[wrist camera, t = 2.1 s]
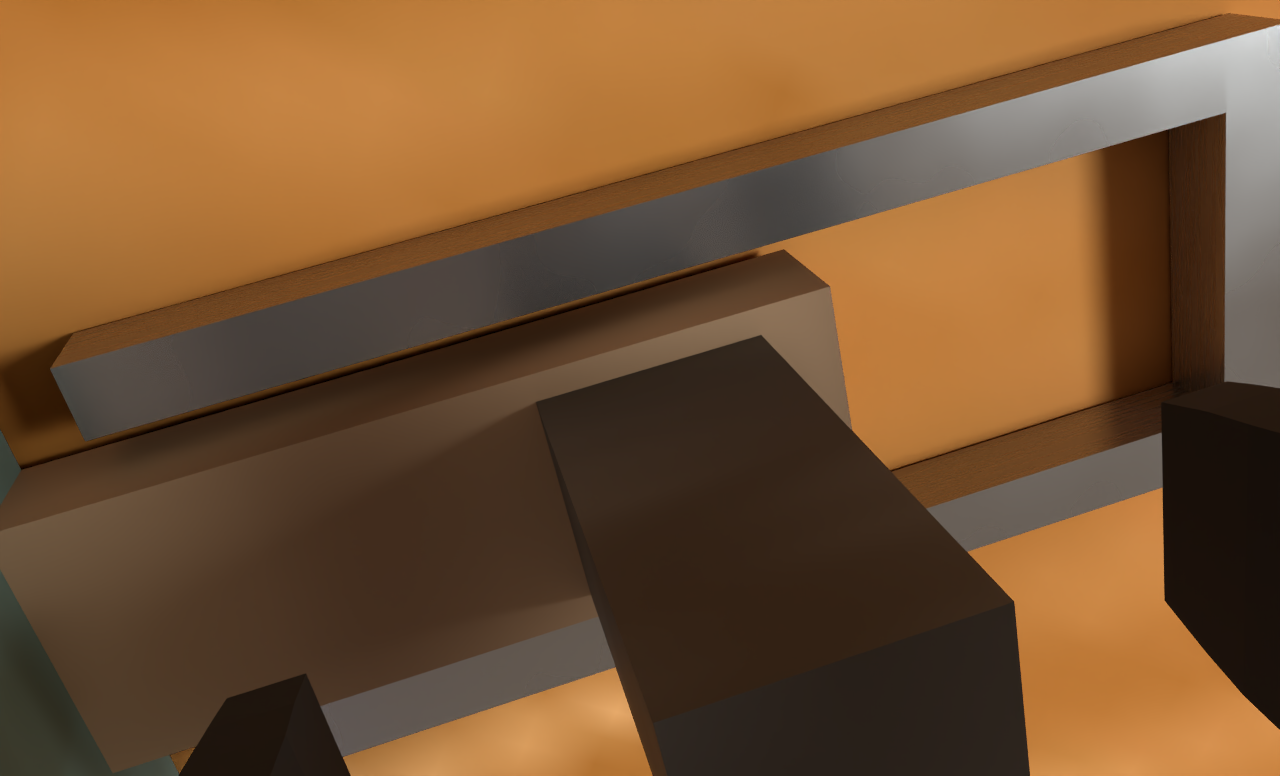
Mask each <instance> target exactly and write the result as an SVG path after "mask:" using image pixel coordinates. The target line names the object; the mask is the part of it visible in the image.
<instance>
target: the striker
mask: <svg viewBox="0 0 1280 776" xmlns="http://www.w3.org/2000/svg"><path fill="white" fill-rule="evenodd" d="M595 617H599V620H600V623H601V625H602V628H603V631H604V634H605V637H606V640H607V643H608V646H609V649H610V652H611V655H612V658H613V661H614V663H615V666H616V669H617V672H618V675H619V678H620V681H621V684H622V687H623V690H624V693H625V696H626V698H627V701H628V704H629V707H630V710H631V713H632V716H633V719H634V722H635V725H636V728H637V731H638V734H639V736H640V739H641V742H642V745H643V748H644V751H645V754H646V757H647V760H648V763H649V766H650V769H651V772H652V774H653V776H1030V771H1029V760H1028V749H1027V738H1026V727H1025V716H1024V705H1023V694H1022V683H1021V672H1020V661H1019V650H1018V639H1017V628H1016V617H1015V606H1014V601H1013V600H1012V599H1011V598H1010V597H1009V596H1008V595H1007V594H1006V593H1005V592H1004V591H1003V589H1002V588H1001V587H1000V586H999V585H998V584H997V583H996V582H995V581H994V580H993V579H992V578H991V577H990V576H989V575H988V574H987V573H986V572H985V570H984V569H983V568H982V567H981V566H980V565H979V564H978V563H977V562H976V561H975V560H974V559H973V558H972V557H971V556H970V555H969V554H968V553H967V551H966V550H965V549H964V548H963V547H962V546H961V545H960V544H959V543H958V542H957V541H956V540H955V539H954V538H953V537H952V536H951V535H950V534H949V532H948V531H947V530H946V529H945V528H944V527H943V526H942V525H941V524H940V523H939V522H938V521H937V520H936V519H935V518H934V517H933V516H932V515H931V513H930V512H929V511H928V510H927V509H926V508H925V507H924V506H923V505H922V504H921V503H920V502H919V501H918V500H917V499H916V498H915V497H914V496H913V494H912V493H911V492H910V491H909V490H908V489H907V488H906V487H905V486H904V485H903V484H902V483H901V482H900V481H899V480H898V479H897V478H896V477H895V475H894V474H893V473H892V472H891V471H890V470H889V469H888V468H887V467H886V466H885V465H884V464H883V463H882V462H881V461H880V460H879V459H878V458H877V456H876V455H875V454H874V453H873V452H872V451H871V450H870V449H869V448H868V447H867V446H866V445H865V444H864V443H863V442H862V441H861V440H860V439H859V437H858V436H857V435H856V434H855V433H854V432H853V431H852V427H851V420H850V414H849V407H848V401H847V394H846V388H845V381H844V375H843V368H842V362H841V355H840V349H839V342H838V336H837V329H836V323H835V316H834V310H833V303H832V297H831V290H830V286H829V285H828V284H826V283H825V282H824V281H823V280H821V279H820V278H819V277H818V276H816V275H815V274H814V273H813V272H811V271H810V270H809V269H808V268H806V267H805V266H804V265H803V264H801V263H800V262H799V261H798V260H796V259H795V258H794V257H793V256H791V255H790V254H789V253H788V252H786V251H785V250H780V251H777V252H773V253H770V254H766V255H763V256H759V257H756V258H752V259H749V260H746V261H742V262H739V263H735V264H732V265H728V266H725V267H721V268H718V269H714V270H711V271H708V272H704V273H701V274H697V275H694V276H690V277H687V278H683V279H680V280H676V281H673V282H669V283H666V284H663V285H659V286H656V287H652V288H649V289H645V290H642V291H638V292H635V293H631V294H628V295H625V296H621V297H618V298H614V299H611V300H607V301H604V302H600V303H597V304H593V305H590V306H587V307H583V308H580V309H576V310H573V311H569V312H566V313H562V314H559V315H555V316H552V317H548V318H545V319H542V320H538V321H535V322H531V323H528V324H524V325H521V326H517V327H514V328H510V329H507V330H504V331H500V332H497V333H493V334H490V335H486V336H483V337H479V338H476V339H472V340H469V341H466V342H462V343H459V344H455V345H452V346H448V347H445V348H441V349H438V350H434V351H431V352H427V353H424V354H421V355H417V356H414V357H410V358H407V359H403V360H400V361H396V362H393V363H389V364H386V365H383V366H379V367H376V368H372V369H369V370H365V371H362V372H358V373H355V374H351V375H348V376H345V377H341V378H338V379H334V380H331V381H327V382H324V383H320V384H317V385H313V386H310V387H306V388H303V389H300V390H296V391H293V392H289V393H286V394H282V395H279V396H275V397H272V398H268V399H265V400H262V401H258V402H255V403H251V404H248V405H244V406H241V407H237V408H234V409H230V410H227V411H224V412H220V413H217V414H213V415H210V416H206V417H203V418H199V419H196V420H192V421H189V422H185V423H182V424H179V425H175V426H172V427H168V428H165V429H161V430H158V431H154V432H151V433H147V434H144V435H141V436H137V437H134V438H130V439H127V440H123V441H120V442H116V443H113V444H109V445H106V446H103V447H99V448H96V449H92V450H89V451H85V452H82V453H78V454H75V455H71V456H68V457H64V458H61V459H58V460H54V461H51V462H47V463H44V464H40V465H37V466H33V467H30V468H26V469H23V470H21V468H20V467H19V465H18V463H17V461H16V459H15V457H14V455H13V453H12V451H11V449H10V447H9V445H8V443H7V441H6V440H5V438H4V436H3V434H2V432H1V430H0V776H179V773H178V771H177V769H176V767H175V765H174V763H173V761H172V759H171V757H170V755H171V754H174V753H177V752H180V751H183V750H186V749H190V748H193V747H196V746H197V744H198V743H199V741H200V740H201V738H202V736H203V735H204V733H205V731H206V730H207V728H208V727H209V725H210V723H211V722H212V720H213V719H214V717H215V715H216V714H217V712H218V711H219V709H220V708H221V706H222V705H223V703H224V702H225V700H226V699H227V698H229V697H233V696H236V695H239V694H242V693H245V692H248V691H251V690H255V689H258V688H261V687H264V686H267V685H270V684H274V683H277V682H280V681H283V680H286V679H289V678H292V677H296V676H299V675H302V674H305V673H306V674H307V677H308V679H309V681H310V684H311V686H312V688H313V690H314V693H315V695H316V697H317V700H318V702H319V704H320V706H323V705H326V704H329V703H332V702H335V701H338V700H341V699H344V698H347V697H351V696H354V695H357V694H360V693H363V692H366V691H369V690H372V689H375V688H378V687H382V686H385V685H388V684H391V683H394V682H397V681H400V680H403V679H406V678H409V677H413V676H416V675H419V674H422V673H425V672H428V671H431V670H434V669H437V668H440V667H444V666H447V665H450V664H453V663H456V662H459V661H462V660H465V659H468V658H471V657H475V656H478V655H481V654H484V653H487V652H490V651H493V650H496V649H499V648H502V647H505V646H509V645H512V644H515V643H518V642H521V641H524V640H527V639H530V638H533V637H536V636H540V635H543V634H546V633H549V632H552V631H555V630H558V629H561V628H564V627H567V626H571V625H574V624H577V623H580V622H583V621H586V620H589V619H592V618H595Z"/></svg>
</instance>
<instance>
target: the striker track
mask: <svg viewBox="0 0 1280 776" xmlns="http://www.w3.org/2000/svg"><path fill="white" fill-rule="evenodd" d="M1167 129H1169V180H1170V243H1171V306H1172V369H1173V382H1172V383H1169V384H1166V385H1163V386H1160V387H1157V388H1153V389H1150V390H1147V391H1144V392H1141V393H1138V394H1134V395H1131V396H1128V397H1125V398H1122V399H1119V400H1116V401H1112V402H1109V403H1106V404H1103V405H1100V406H1097V407H1093V408H1090V409H1087V410H1084V411H1081V412H1078V413H1075V414H1071V415H1068V416H1065V417H1062V418H1059V419H1056V420H1053V421H1049V422H1046V423H1043V424H1040V425H1037V426H1034V427H1030V428H1027V429H1024V430H1021V431H1018V432H1015V433H1012V434H1008V435H1005V436H1002V437H999V438H996V439H993V440H989V441H986V442H983V443H980V444H977V445H974V446H971V447H967V448H964V449H961V450H958V451H955V452H952V453H948V454H945V455H942V456H939V457H936V458H933V459H930V460H926V461H923V462H920V463H917V464H914V465H911V466H908V467H904V468H901V469H898V470H895V471H892V473H893V474H894V475H895V477H896V478H897V479H898V480H899V481H900V482H901V483H902V484H903V485H904V486H905V487H906V488H907V489H908V490H909V491H910V492H911V493H912V494H913V496H914V497H915V498H916V499H917V500H918V501H919V502H920V503H921V504H922V505H923V506H924V507H925V508H926V509H927V510H928V511H929V512H930V513H931V515H932V516H933V517H934V518H935V519H936V520H937V521H938V522H939V523H940V524H941V525H942V526H943V527H944V528H945V529H946V530H947V531H948V532H949V534H950V535H951V536H952V537H953V538H954V539H955V540H956V541H957V542H958V543H959V544H960V545H961V546H962V547H963V548H964V549H965V550H966V551H970V550H973V549H976V548H979V547H982V546H986V545H989V544H992V543H995V542H998V541H1001V540H1004V539H1007V538H1010V537H1013V536H1016V535H1019V534H1022V533H1025V532H1028V531H1031V530H1034V529H1037V528H1040V527H1043V526H1046V525H1049V524H1052V523H1055V522H1059V521H1062V520H1065V519H1068V518H1071V517H1074V516H1077V515H1080V514H1083V513H1086V512H1089V511H1092V510H1095V509H1098V508H1101V507H1104V506H1107V505H1110V504H1113V503H1116V502H1119V501H1122V500H1125V499H1128V498H1131V497H1135V496H1138V495H1141V494H1144V493H1147V492H1150V491H1153V490H1156V489H1159V488H1162V487H1163V479H1162V423H1161V402H1163V401H1166V400H1170V399H1173V398H1176V397H1179V396H1182V395H1185V394H1189V393H1192V392H1195V391H1198V390H1201V389H1204V388H1207V387H1211V386H1214V385H1217V384H1220V383H1223V382H1226V381H1229V382H1238V383H1247V384H1255V385H1262V386H1269V387H1275V388H1280V19H1272V18H1264V17H1255V16H1247V15H1239V14H1231V13H1228V14H1224V15H1221V16H1217V17H1214V18H1210V19H1206V20H1203V21H1199V22H1196V23H1192V24H1188V25H1185V26H1181V27H1177V28H1174V29H1170V30H1167V31H1163V32H1159V33H1156V34H1152V35H1149V36H1145V37H1141V38H1138V39H1134V40H1131V41H1127V42H1123V43H1120V44H1116V45H1112V46H1109V47H1105V48H1102V49H1098V50H1094V51H1091V52H1087V53H1084V54H1080V55H1076V56H1073V57H1069V58H1066V59H1062V60H1058V61H1055V62H1051V63H1047V64H1044V65H1040V66H1037V67H1033V68H1029V69H1026V70H1022V71H1019V72H1015V73H1011V74H1008V75H1004V76H1001V77H997V78H993V79H990V80H986V81H982V82H979V83H975V84H972V85H968V86H964V87H961V88H957V89H954V90H950V91H946V92H943V93H939V94H936V95H932V96H928V97H925V98H921V99H917V100H914V101H910V102H907V103H903V104H899V105H896V106H892V107H889V108H885V109H881V110H878V111H874V112H871V113H867V114H863V115H860V116H856V117H852V118H849V119H845V120H842V121H838V122H834V123H831V124H827V125H824V126H820V127H816V128H813V129H809V130H806V131H802V132H798V133H795V134H791V135H787V136H784V137H780V138H777V139H773V140H769V141H766V142H762V143H759V144H755V145H751V146H748V147H744V148H741V149H737V150H733V151H730V152H726V153H722V154H719V155H715V156H712V157H708V158H704V159H701V160H697V161H694V162H690V163H686V164H683V165H679V166H676V167H672V168H668V169H665V170H661V171H657V172H654V173H650V174H647V175H643V176H639V177H636V178H632V179H629V180H625V181H621V182H618V183H614V184H611V185H607V186H603V187H600V188H596V189H592V190H589V191H585V192H582V193H578V194H574V195H571V196H567V197H564V198H560V199H556V200H553V201H549V202H546V203H542V204H538V205H535V206H531V207H527V208H524V209H520V210H517V211H513V212H509V213H506V214H502V215H499V216H495V217H491V218H488V219H484V220H481V221H477V222H473V223H470V224H466V225H462V226H459V227H455V228H452V229H448V230H444V231H441V232H437V233H434V234H430V235H426V236H423V237H419V238H416V239H412V240H408V241H405V242H401V243H397V244H394V245H390V246H387V247H383V248H379V249H376V250H372V251H369V252H365V253H361V254H358V255H354V256H351V257H347V258H343V259H340V260H336V261H332V262H329V263H325V264H322V265H318V266H314V267H311V268H307V269H304V270H300V271H296V272H293V273H289V274H286V275H282V276H278V277H275V278H271V279H267V280H264V281H260V282H257V283H253V284H249V285H246V286H242V287H239V288H235V289H231V290H228V291H224V292H221V293H217V294H213V295H210V296H206V297H202V298H199V299H195V300H192V301H188V302H184V303H181V304H177V305H174V306H170V307H166V308H163V309H159V310H156V311H152V312H148V313H145V314H141V315H137V316H134V317H130V318H127V319H123V320H119V321H116V322H112V323H109V324H105V325H101V326H98V327H94V328H91V329H87V330H83V331H80V332H76V333H73V334H72V336H71V337H70V339H69V340H68V342H67V343H66V345H65V347H64V348H63V350H62V351H61V353H60V354H59V356H58V357H57V359H56V360H55V362H54V363H53V365H52V366H51V368H50V370H51V372H52V374H53V376H54V378H55V380H56V383H57V385H58V387H59V389H60V391H61V393H62V395H63V397H64V399H65V401H66V403H67V405H68V407H69V409H70V411H71V413H72V415H73V418H74V420H75V422H76V424H77V426H78V428H79V430H80V432H81V434H82V436H83V438H84V440H85V441H88V440H92V439H95V438H99V437H102V436H106V435H109V434H113V433H116V432H120V431H123V430H127V429H130V428H134V427H137V426H141V425H144V424H147V423H151V422H154V421H158V420H161V419H165V418H168V417H172V416H175V415H179V414H182V413H186V412H189V411H193V410H196V409H200V408H203V407H206V406H210V405H213V404H217V403H220V402H224V401H227V400H231V399H234V398H238V397H241V396H245V395H248V394H252V393H255V392H258V391H262V390H265V389H269V388H272V387H276V386H279V385H283V384H286V383H290V382H293V381H297V380H300V379H304V378H307V377H311V376H314V375H317V374H321V373H324V372H328V371H331V370H335V369H338V368H342V367H345V366H349V365H352V364H356V363H359V362H363V361H366V360H369V359H373V358H376V357H380V356H383V355H387V354H390V353H394V352H397V351H401V350H404V349H408V348H411V347H415V346H418V345H422V344H425V343H428V342H432V341H435V340H439V339H442V338H446V337H449V336H453V335H456V334H460V333H463V332H467V331H470V330H474V329H477V328H481V327H484V326H487V325H491V324H494V323H498V322H501V321H505V320H508V319H512V318H515V317H519V316H522V315H526V314H529V313H533V312H536V311H539V310H543V309H546V308H550V307H553V306H557V305H560V304H564V303H567V302H571V301H574V300H578V299H581V298H585V297H588V296H592V295H595V294H598V293H602V292H605V291H609V290H612V289H616V288H619V287H623V286H626V285H630V284H633V283H637V282H640V281H644V280H647V279H651V278H654V277H657V276H661V275H664V274H668V273H671V272H675V271H678V270H682V269H685V268H689V267H692V266H696V265H699V264H703V263H706V262H709V261H713V260H716V259H720V258H723V257H727V256H730V255H734V254H737V253H741V252H744V251H748V250H751V249H755V248H758V247H762V246H765V245H768V244H772V243H775V242H779V241H782V240H786V239H789V238H793V237H796V236H800V235H803V234H807V233H810V232H814V231H817V230H821V229H824V228H827V227H831V226H834V225H838V224H841V223H845V222H848V221H852V220H855V219H859V218H862V217H866V216H869V215H873V214H876V213H879V212H883V211H886V210H890V209H893V208H897V207H900V206H904V205H907V204H911V203H914V202H918V201H921V200H925V199H928V198H932V197H935V196H938V195H942V194H945V193H949V192H952V191H956V190H959V189H963V188H966V187H970V186H973V185H977V184H980V183H984V182H987V181H991V180H994V179H997V178H1001V177H1004V176H1008V175H1011V174H1015V173H1018V172H1022V171H1025V170H1029V169H1032V168H1036V167H1039V166H1043V165H1046V164H1049V163H1053V162H1056V161H1060V160H1063V159H1067V158H1070V157H1074V156H1077V155H1081V154H1084V153H1088V152H1091V151H1095V150H1098V149H1102V148H1105V147H1108V146H1112V145H1115V144H1119V143H1122V142H1126V141H1129V140H1133V139H1136V138H1140V137H1143V136H1147V135H1150V134H1154V133H1157V132H1161V131H1164V130H1167ZM615 667H616V666H615V663H614V661H613V658H612V655H611V652H610V649H609V646H608V643H607V640H606V637H605V634H604V631H603V628H602V625H601V623H600V620H599V617H595V618H592V619H589V620H586V621H583V622H580V623H577V624H574V625H571V626H567V627H564V628H561V629H558V630H555V631H552V632H549V633H546V634H543V635H540V636H536V637H533V638H530V639H527V640H524V641H521V642H518V643H515V644H512V645H509V646H505V647H502V648H499V649H496V650H493V651H490V652H487V653H484V654H481V655H478V656H475V657H471V658H468V659H465V660H462V661H459V662H456V663H453V664H450V665H447V666H444V667H440V668H437V669H434V670H431V671H428V672H425V673H422V674H419V675H416V676H413V677H409V678H406V679H403V680H400V681H397V682H394V683H391V684H388V685H385V686H382V687H378V688H375V689H372V690H369V691H366V692H363V693H360V694H357V695H354V696H351V697H347V698H344V699H341V700H338V701H335V702H332V703H329V704H326V705H323V706H320V707H321V709H322V711H323V713H324V716H325V718H326V720H327V723H328V725H329V727H330V730H331V732H332V734H333V736H334V739H335V741H336V743H337V746H338V748H339V750H340V753H341V755H342V757H344V756H347V755H350V754H353V753H356V752H359V751H362V750H365V749H368V748H371V747H374V746H377V745H380V744H383V743H386V742H389V741H393V740H396V739H399V738H402V737H405V736H408V735H411V734H414V733H417V732H420V731H423V730H426V729H429V728H432V727H435V726H438V725H441V724H444V723H447V722H450V721H453V720H456V719H459V718H462V717H466V716H469V715H472V714H475V713H478V712H481V711H484V710H487V709H490V708H493V707H496V706H499V705H502V704H505V703H508V702H511V701H514V700H517V699H520V698H523V697H526V696H529V695H532V694H535V693H538V692H542V691H545V690H548V689H551V688H554V687H557V686H560V685H563V684H566V683H569V682H572V681H575V680H578V679H581V678H584V677H587V676H590V675H593V674H596V673H599V672H602V671H605V670H608V669H611V668H615Z"/></svg>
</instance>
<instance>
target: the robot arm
mask: <svg viewBox="0 0 1280 776" xmlns="http://www.w3.org/2000/svg"><path fill="white" fill-rule="evenodd" d="M1161 423H1162V479H1163V534H1164V589H1165V601H1166V603H1167V604H1168V605H1169V606H1170V608H1171V609H1172V610H1173V611H1174V613H1175V614H1176V615H1177V616H1178V618H1179V619H1180V620H1181V621H1182V623H1183V624H1184V625H1185V626H1186V628H1187V629H1188V630H1189V631H1190V633H1191V634H1192V635H1193V636H1194V638H1195V639H1196V640H1197V641H1198V643H1199V644H1200V645H1201V646H1202V648H1203V649H1204V650H1205V651H1206V652H1207V654H1208V655H1209V656H1210V657H1211V658H1212V659H1213V661H1214V662H1215V663H1216V664H1217V665H1218V666H1219V667H1220V669H1221V670H1222V671H1223V672H1224V673H1225V674H1226V676H1227V677H1228V678H1229V679H1230V680H1231V681H1232V682H1233V684H1234V685H1235V686H1236V687H1237V688H1238V689H1239V691H1240V692H1241V693H1242V694H1243V695H1244V696H1245V697H1246V698H1247V699H1248V700H1249V701H1250V702H1251V703H1252V704H1253V705H1254V706H1255V707H1256V708H1257V709H1258V710H1260V711H1261V712H1262V713H1263V714H1264V715H1265V716H1266V717H1267V718H1268V719H1269V720H1270V721H1271V722H1272V723H1273V724H1274V725H1275V726H1276V727H1277V728H1279V729H1280V388H1275V387H1269V386H1262V385H1255V384H1247V383H1238V382H1229V381H1226V382H1223V383H1220V384H1217V385H1214V386H1211V387H1207V388H1204V389H1201V390H1198V391H1195V392H1192V393H1189V394H1185V395H1182V396H1179V397H1176V398H1173V399H1170V400H1166V401H1163V402H1161ZM179 776H350V773H349V771H348V769H347V766H346V764H345V762H344V759H343V757H342V755H341V753H340V750H339V748H338V746H337V743H336V741H335V739H334V736H333V734H332V732H331V730H330V727H329V725H328V723H327V720H326V718H325V716H324V713H323V711H322V709H321V707H320V704H319V702H318V700H317V697H316V695H315V693H314V690H313V688H312V686H311V684H310V681H309V679H308V677H307V674H306V673H305V674H302V675H299V676H296V677H292V678H289V679H286V680H283V681H280V682H277V683H274V684H270V685H267V686H264V687H261V688H258V689H255V690H251V691H248V692H245V693H242V694H239V695H236V696H233V697H229V698H227V699H226V700H225V702H224V703H223V705H222V706H221V708H220V709H219V711H218V712H217V714H216V715H215V717H214V719H213V720H212V722H211V723H210V725H209V727H208V728H207V730H206V731H205V733H204V735H203V736H202V738H201V740H200V741H199V743H198V744H197V746H196V748H195V749H194V751H193V753H192V754H191V756H190V758H189V759H188V761H187V763H186V764H185V766H184V767H183V769H182V771H181V772H180V774H179Z"/></svg>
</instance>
